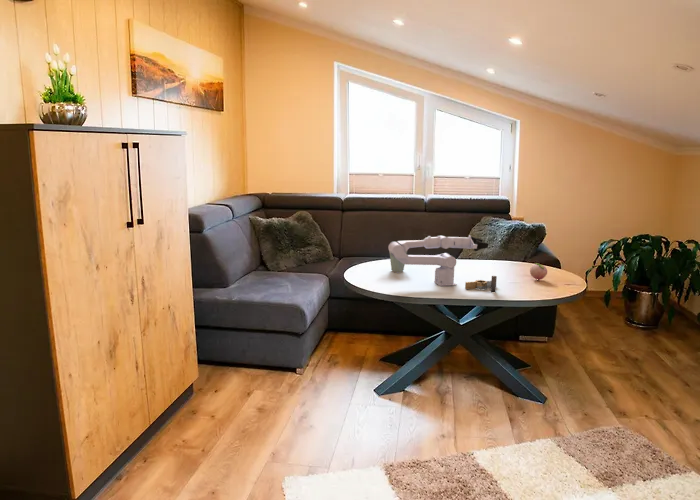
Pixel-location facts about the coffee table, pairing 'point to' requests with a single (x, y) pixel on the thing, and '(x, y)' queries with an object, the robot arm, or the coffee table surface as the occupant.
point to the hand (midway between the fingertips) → (485, 243)
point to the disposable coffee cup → (396, 264)
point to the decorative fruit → (538, 271)
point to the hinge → (478, 285)
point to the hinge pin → (493, 283)
